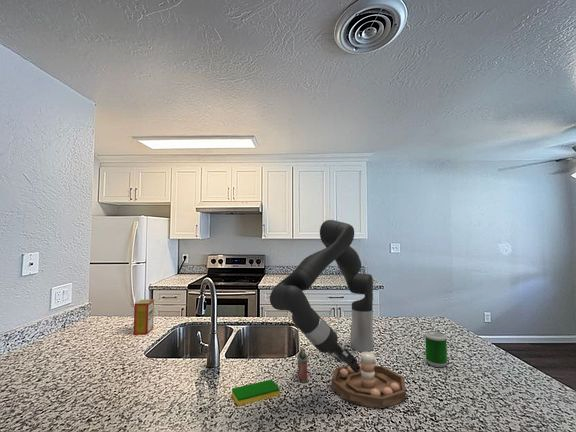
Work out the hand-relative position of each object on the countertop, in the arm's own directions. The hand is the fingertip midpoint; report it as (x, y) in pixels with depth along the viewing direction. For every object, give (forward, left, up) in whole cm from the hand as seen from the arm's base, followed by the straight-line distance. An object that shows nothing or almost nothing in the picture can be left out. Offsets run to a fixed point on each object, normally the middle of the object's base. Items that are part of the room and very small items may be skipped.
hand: (349, 364), depth 97 cm
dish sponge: (-13, -27, -10) cm, 32 cm away
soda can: (-2, +45, -9) cm, 46 cm away
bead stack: (0, +8, -8) cm, 12 cm away
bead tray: (0, +8, -9) cm, 12 cm away
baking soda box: (-97, -57, -9) cm, 113 cm away
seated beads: (0, +8, -9) cm, 12 cm away
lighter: (-16, -8, -10) cm, 21 cm away
